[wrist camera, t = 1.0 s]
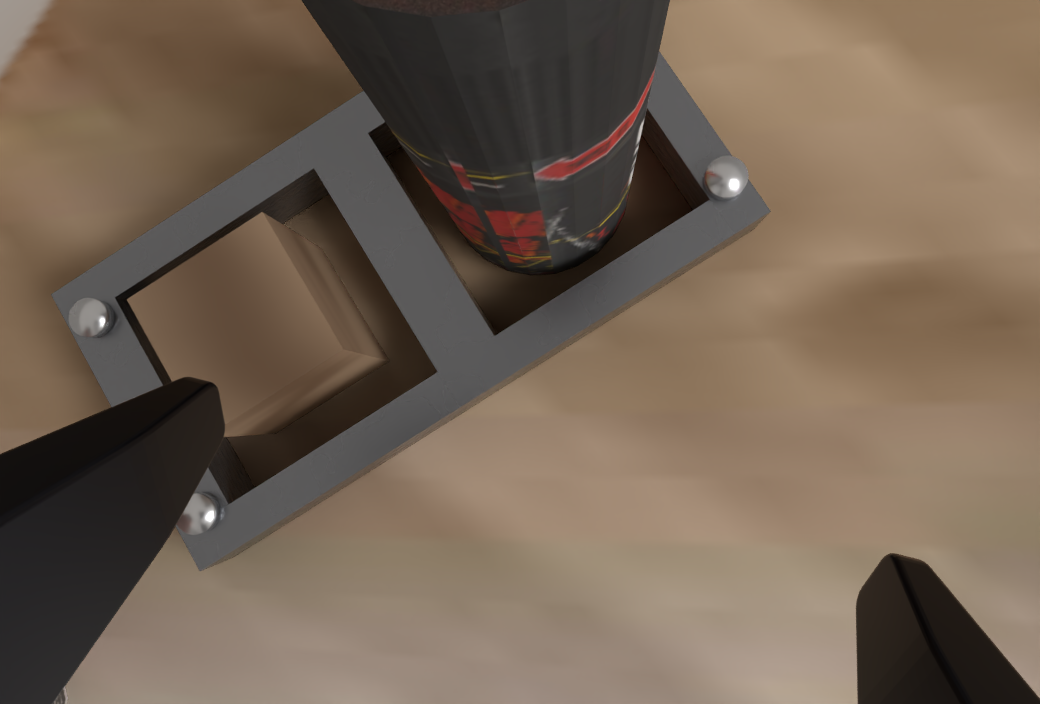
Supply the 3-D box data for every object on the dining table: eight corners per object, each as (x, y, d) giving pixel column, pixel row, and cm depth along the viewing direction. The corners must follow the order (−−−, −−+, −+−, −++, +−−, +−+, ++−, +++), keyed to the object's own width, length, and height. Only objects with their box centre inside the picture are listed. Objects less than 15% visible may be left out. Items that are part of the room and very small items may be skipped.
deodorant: (436, 120, 23) (178, -390, 8) (611, 83, 23) (662, -523, 8) (465, 290, 23) (243, 66, 8) (644, 256, 22) (769, -50, 7)
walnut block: (276, 433, 23) (203, 438, 19) (212, 320, 24) (126, 299, 19) (389, 361, 23) (343, 349, 18) (323, 249, 23) (262, 211, 19)
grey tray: (233, 557, 23) (192, 574, 20) (95, 304, 24) (41, 292, 22) (753, 229, 22) (774, 207, 20) (585, -15, 23) (585, -64, 21)
